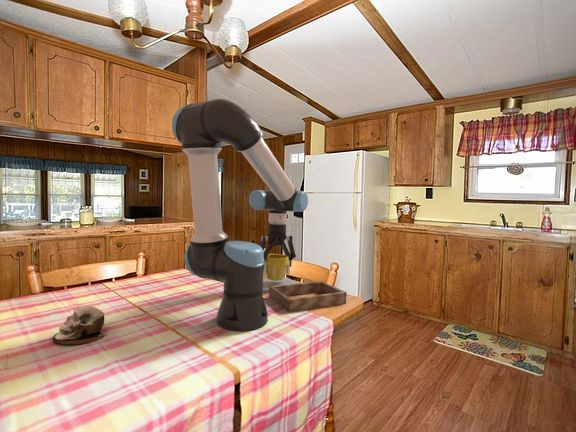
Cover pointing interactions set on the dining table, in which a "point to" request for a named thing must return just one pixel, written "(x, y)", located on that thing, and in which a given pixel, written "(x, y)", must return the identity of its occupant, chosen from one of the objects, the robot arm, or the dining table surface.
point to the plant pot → (276, 266)
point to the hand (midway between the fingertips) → (275, 275)
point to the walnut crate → (296, 304)
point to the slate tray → (276, 283)
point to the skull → (81, 326)
